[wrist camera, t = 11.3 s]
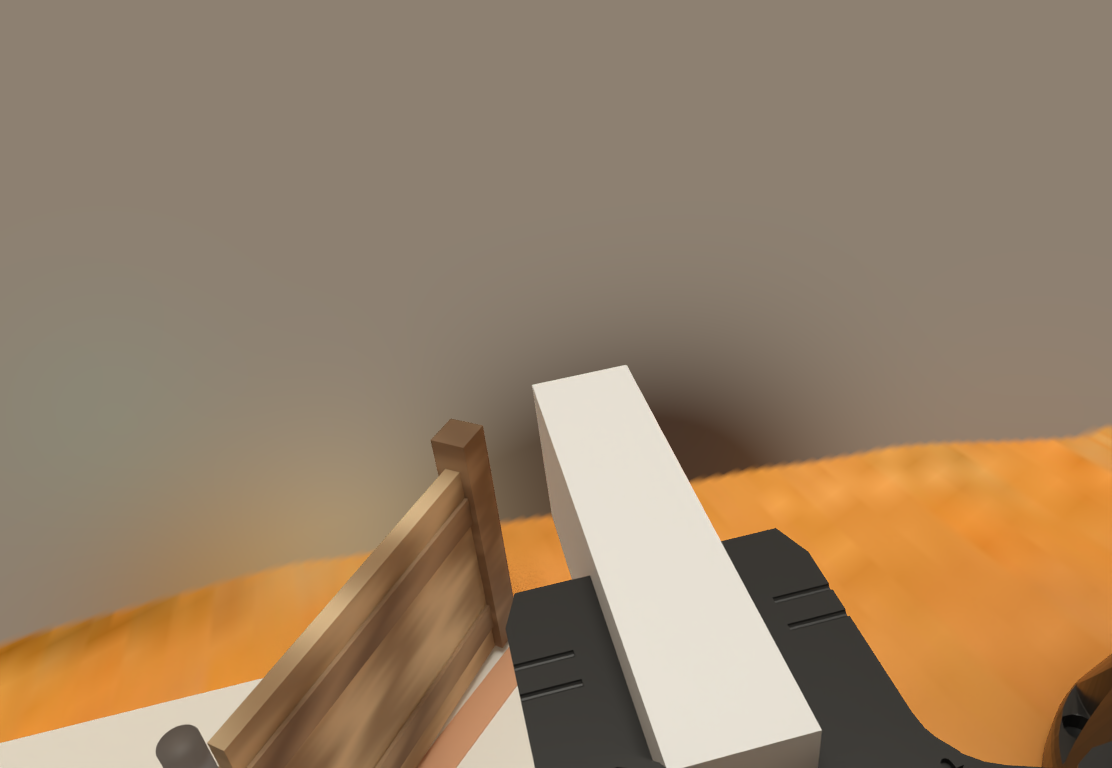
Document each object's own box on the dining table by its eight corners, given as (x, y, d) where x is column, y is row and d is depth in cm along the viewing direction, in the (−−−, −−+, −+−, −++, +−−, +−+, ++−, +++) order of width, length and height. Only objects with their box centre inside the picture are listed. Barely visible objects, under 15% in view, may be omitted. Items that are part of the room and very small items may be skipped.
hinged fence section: (297, 972, 35) (181, 771, 27) (263, 953, 36) (141, 751, 28) (518, 624, 49) (482, 425, 41) (490, 615, 50) (450, 418, 42)
